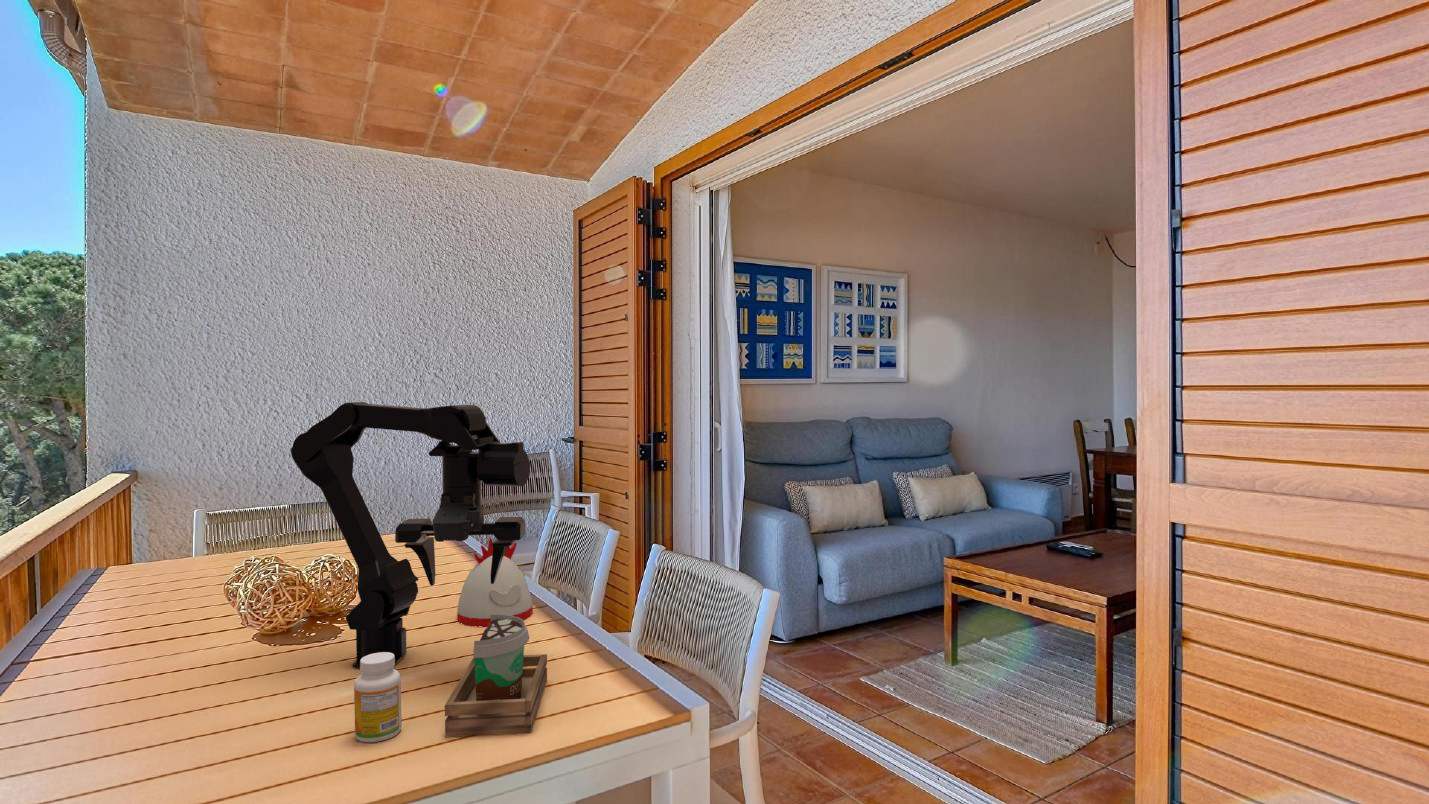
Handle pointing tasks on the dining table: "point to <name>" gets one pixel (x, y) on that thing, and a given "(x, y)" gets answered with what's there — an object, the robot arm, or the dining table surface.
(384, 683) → the supplement bottle
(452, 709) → the tray
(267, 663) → the dining table surface
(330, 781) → the dining table surface
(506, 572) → the kitchen timer
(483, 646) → the food container
